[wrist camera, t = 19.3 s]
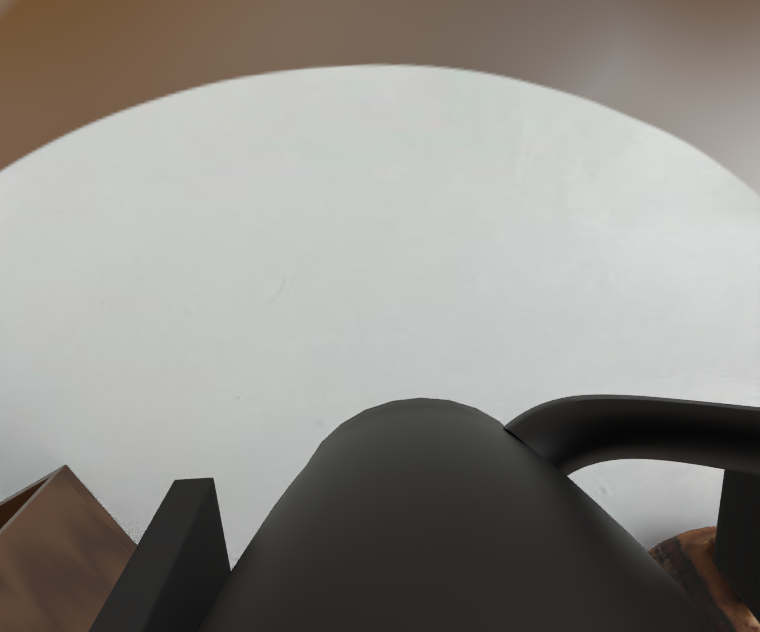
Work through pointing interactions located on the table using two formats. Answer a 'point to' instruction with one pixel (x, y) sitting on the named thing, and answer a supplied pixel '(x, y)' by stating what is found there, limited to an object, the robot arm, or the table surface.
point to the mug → (476, 522)
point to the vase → (704, 579)
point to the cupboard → (57, 556)
